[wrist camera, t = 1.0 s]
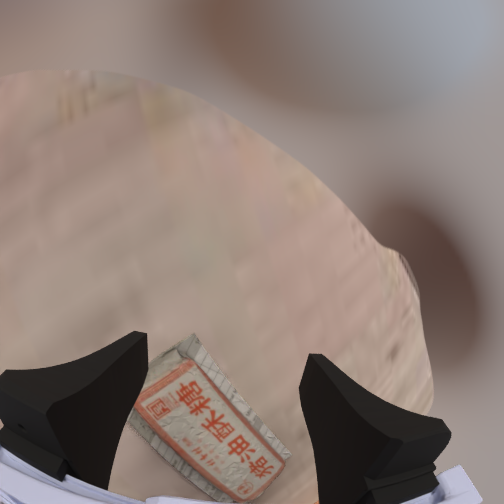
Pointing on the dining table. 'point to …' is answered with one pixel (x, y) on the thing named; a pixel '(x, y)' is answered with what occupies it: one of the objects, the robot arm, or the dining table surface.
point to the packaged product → (206, 426)
